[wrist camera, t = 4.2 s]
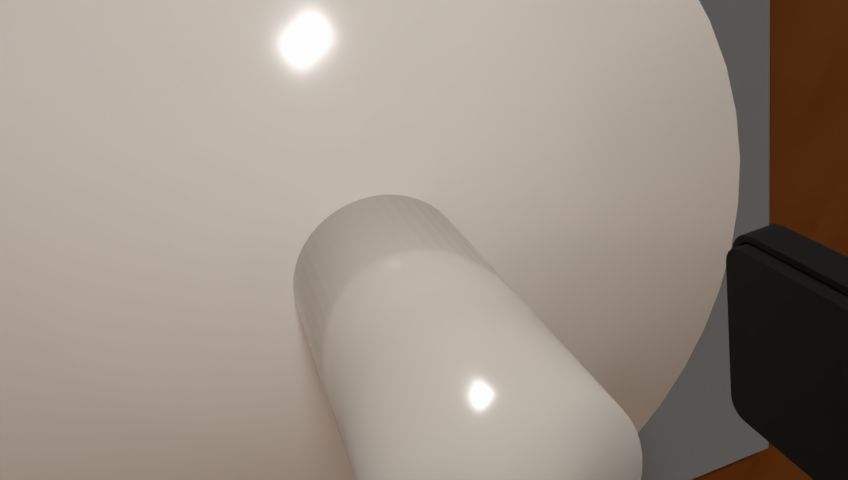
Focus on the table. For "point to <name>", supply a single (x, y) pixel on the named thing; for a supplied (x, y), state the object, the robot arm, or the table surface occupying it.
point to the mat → (710, 361)
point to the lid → (354, 235)
